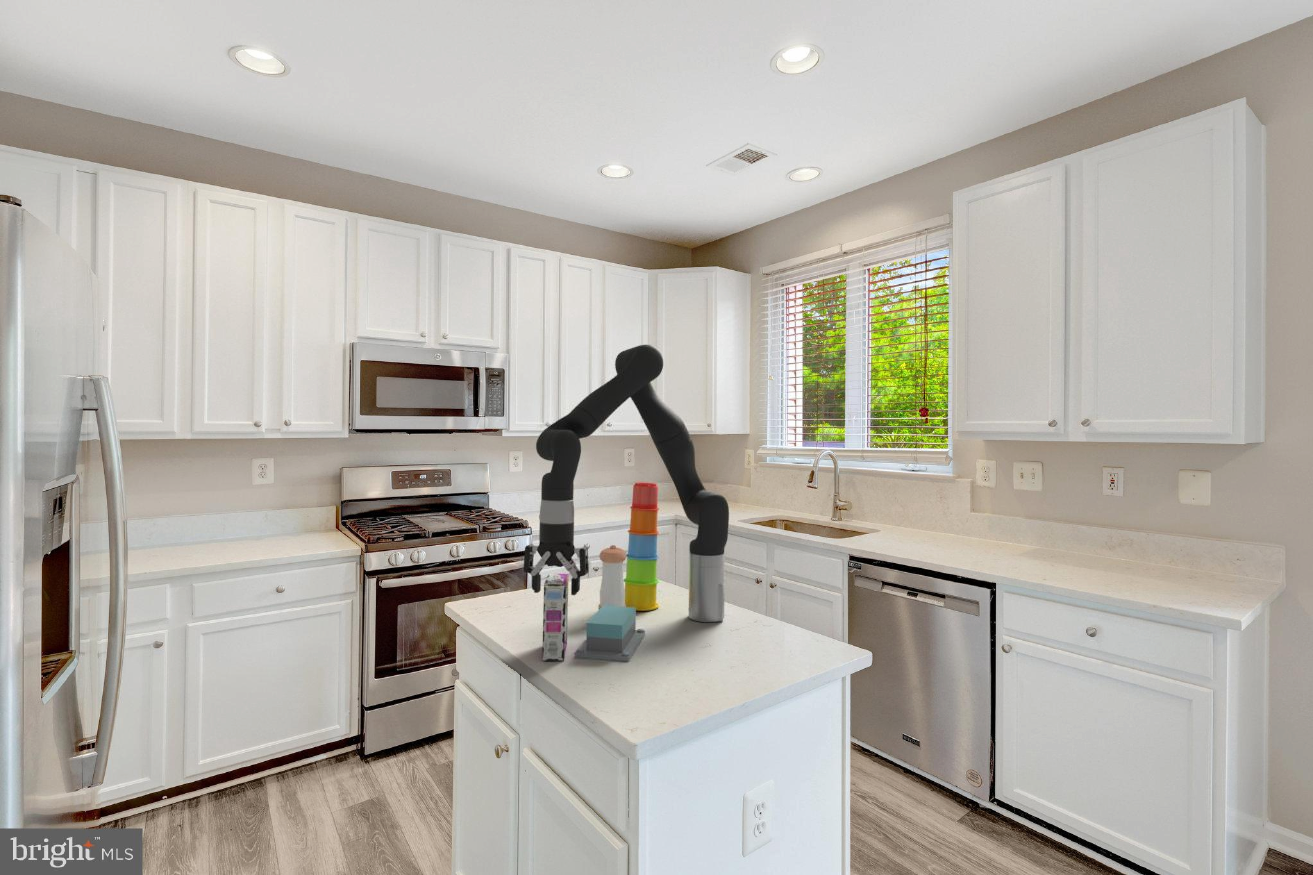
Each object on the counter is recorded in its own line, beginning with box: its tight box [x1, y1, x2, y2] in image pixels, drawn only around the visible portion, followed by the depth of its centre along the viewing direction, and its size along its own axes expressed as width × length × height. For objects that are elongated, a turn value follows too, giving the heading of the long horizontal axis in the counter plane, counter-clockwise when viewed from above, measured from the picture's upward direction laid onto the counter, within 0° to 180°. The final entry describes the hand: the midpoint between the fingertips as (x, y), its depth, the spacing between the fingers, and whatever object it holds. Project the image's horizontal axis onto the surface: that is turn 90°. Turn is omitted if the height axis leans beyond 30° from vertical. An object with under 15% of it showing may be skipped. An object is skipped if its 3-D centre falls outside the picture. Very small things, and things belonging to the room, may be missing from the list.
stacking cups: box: [623, 482, 660, 612], centre depth 175 cm, size 10×10×35 cm
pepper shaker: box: [597, 544, 627, 612], centre depth 164 cm, size 7×7×19 cm
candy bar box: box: [541, 573, 570, 662], centre depth 138 cm, size 11×5×16 cm, turn 5°
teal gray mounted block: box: [574, 606, 646, 662], centre depth 143 cm, size 12×18×7 cm, turn 170°
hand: (555, 593), depth 138 cm, fingers open, 8 cm apart
